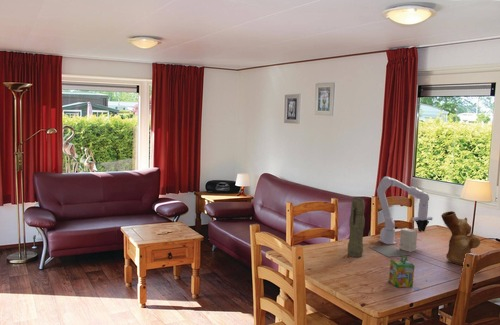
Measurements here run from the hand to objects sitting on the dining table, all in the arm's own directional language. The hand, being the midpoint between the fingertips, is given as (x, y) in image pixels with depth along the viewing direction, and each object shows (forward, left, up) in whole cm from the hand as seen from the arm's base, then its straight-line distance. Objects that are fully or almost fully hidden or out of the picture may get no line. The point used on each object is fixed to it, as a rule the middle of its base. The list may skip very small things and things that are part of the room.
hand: (421, 231), depth 301 cm
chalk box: (+54, -57, -10) cm, 79 cm away
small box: (+5, -14, -10) cm, 18 cm away
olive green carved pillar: (+7, -54, -10) cm, 55 cm away
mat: (+5, -28, -10) cm, 30 cm away
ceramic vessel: (+33, -1, -10) cm, 35 cm away
